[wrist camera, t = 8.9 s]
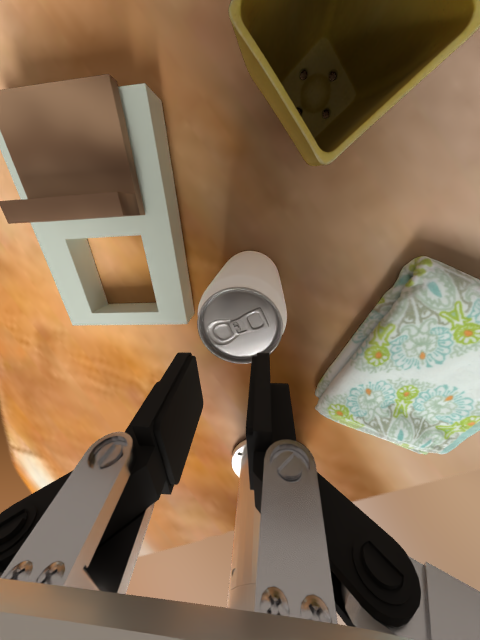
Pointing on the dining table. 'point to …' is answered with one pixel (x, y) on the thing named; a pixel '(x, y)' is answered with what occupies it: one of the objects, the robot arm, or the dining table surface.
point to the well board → (124, 231)
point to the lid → (69, 151)
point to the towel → (412, 363)
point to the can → (243, 309)
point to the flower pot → (344, 60)
